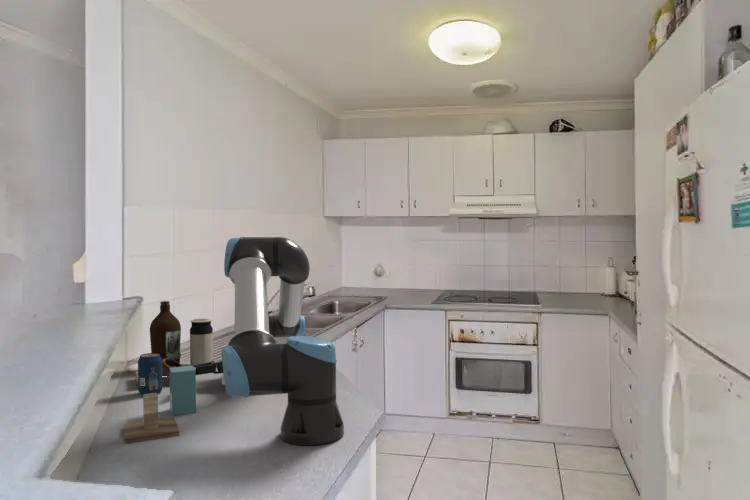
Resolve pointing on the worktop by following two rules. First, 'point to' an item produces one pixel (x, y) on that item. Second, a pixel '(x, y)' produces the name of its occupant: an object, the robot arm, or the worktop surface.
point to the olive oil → (166, 334)
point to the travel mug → (201, 341)
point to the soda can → (150, 373)
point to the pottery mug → (170, 362)
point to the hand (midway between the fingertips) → (202, 378)
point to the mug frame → (164, 379)
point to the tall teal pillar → (182, 390)
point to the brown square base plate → (150, 423)
